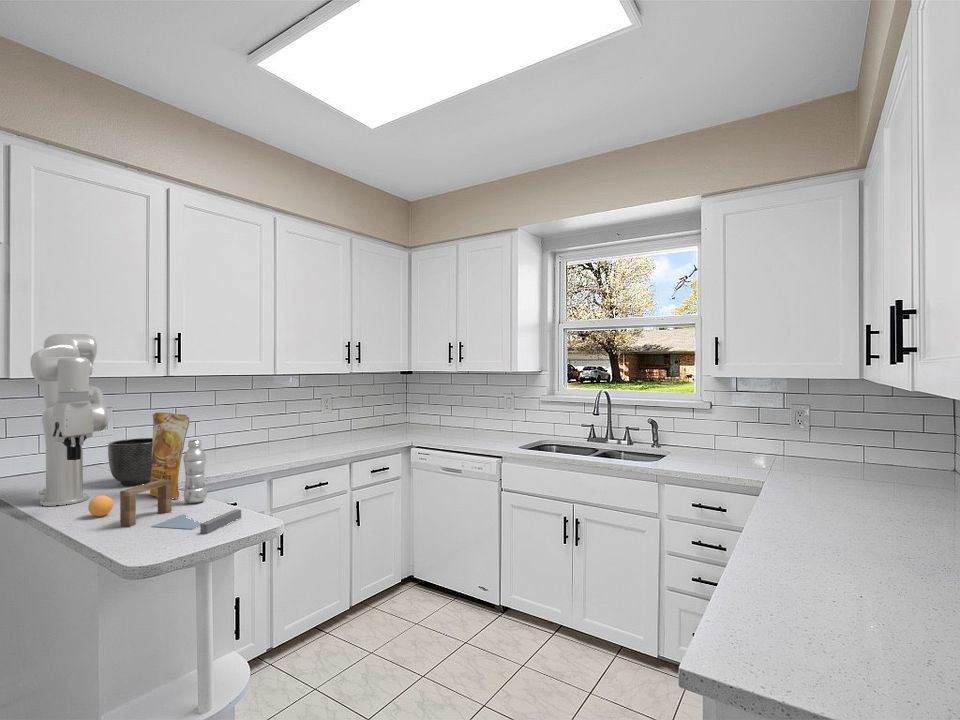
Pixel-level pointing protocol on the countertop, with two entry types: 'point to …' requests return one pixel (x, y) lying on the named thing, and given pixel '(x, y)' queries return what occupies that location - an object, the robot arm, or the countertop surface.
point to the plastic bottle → (194, 473)
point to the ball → (100, 505)
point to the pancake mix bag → (168, 448)
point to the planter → (131, 461)
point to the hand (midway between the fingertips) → (73, 459)
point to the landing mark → (178, 523)
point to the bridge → (130, 500)
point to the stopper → (219, 521)
